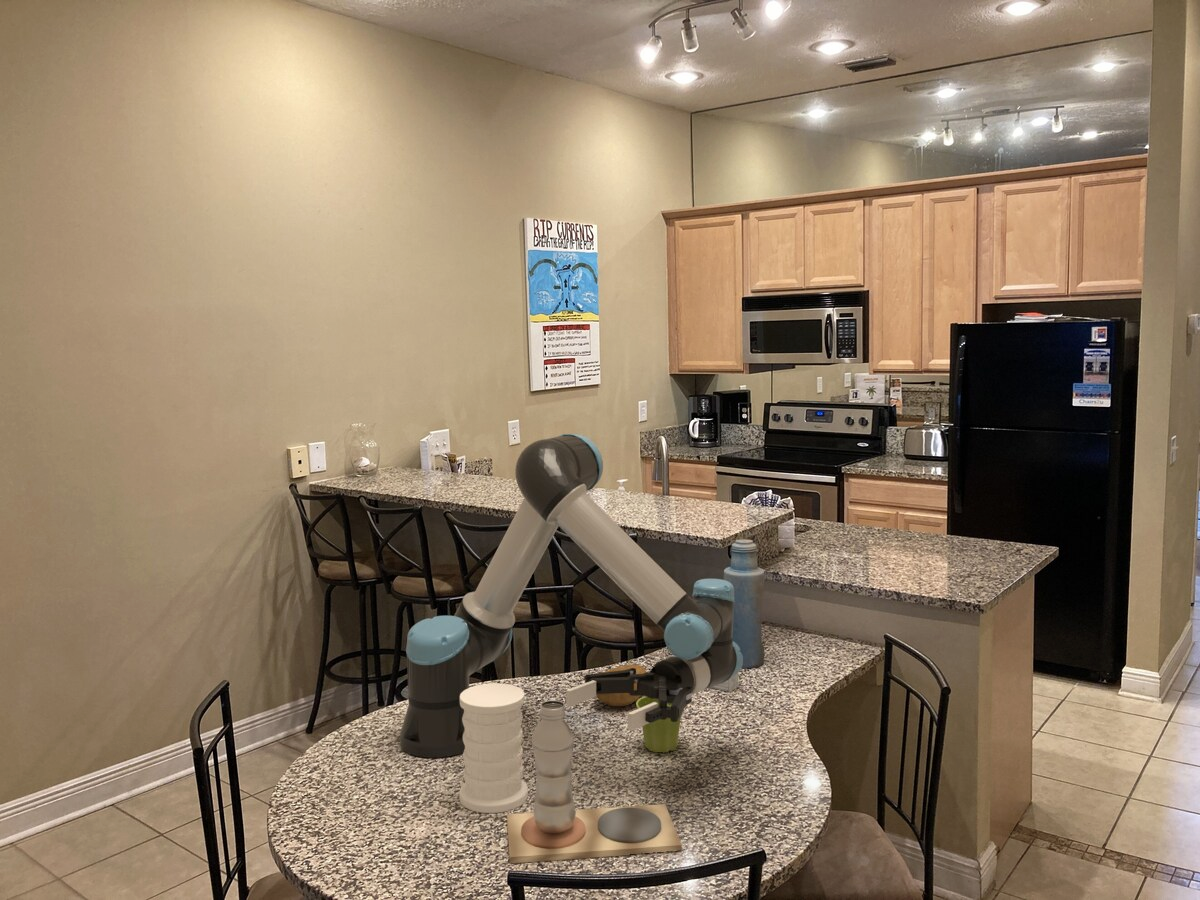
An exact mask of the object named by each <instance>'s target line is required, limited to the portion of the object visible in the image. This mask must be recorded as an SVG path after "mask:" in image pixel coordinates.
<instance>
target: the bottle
mask: <svg viewBox="0 0 1200 900" xmlns="http://www.w3.org/2000/svg"><path fill="white" fill-rule="evenodd" d="M757 550H758V548H757V544H756V543H754V541H753V540H752V539H736V540H735V541H734V543H732V544H731V558H730V566H728V567H726V568H725V569H724V570H723V580H725V581H728V582H730V583H731V584H732V585H733V587H734V600H735V603H734V616H733V641H734V642H735V643H736V644H737V645H738V646H739V648H740V651H741V654H742V656H743V665H742V668H741V669H753V668H759V667H760V666H762V665H763V664H764V661H765V647H764V645H763V640H762V639H763V638H762V634H763V633H762V631H763V630H762V619H763V618H762V613H763V612H762V611H763V610H762V605H763V604H762V600H763V594H764V590H765V570H764V569H763V568H761V567H759V566H758V558H757Z"/></svg>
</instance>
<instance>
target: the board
mask: <svg viewBox="0 0 1200 900" xmlns="http://www.w3.org/2000/svg"><path fill="white" fill-rule="evenodd" d="M575 810H576V815H575V821H574V824H573V825H572V827H571V828H570V829H569V830H568V831H565V832H562V833H555V834H554V833H546V832H543V831H542V830H540V829H539V828H538V826H537V825H536V824H535V820H534V815H533V812H524V813H523V812H522V813H510V814H509V813H507V814H506V822H507V823H506V824H507V836H508V837H507V840H508V854H509V855H508V856H509V864H520V863H521V864H522V863H535V862H550V861H551V862H552V861H563V860H565V861H566V860H577V859H580V860H581V859H591V858H592V859H593V858H594V859H595V858H607V857H619V856H631V855H630V854H636V855H642V854H641V853H650V854H654V853H653V852H656V853H655V854H658V853H657V852H664V853H667V852H666V851H674V850H676V851H677V850H682V851H683V844H682V841H681V840H680V837H679V835H678V832H677V829H676V828H675V825H674V823H673V820H672V817H671V814H670V812H669V811H668V808H667V806H666V803H662V804H661V803H660V804H659V803H658V804H647V805H633V806H632V805H629V806H615V807H600V808H585V809H575Z"/></svg>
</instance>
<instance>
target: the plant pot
mask: <svg viewBox="0 0 1200 900" xmlns="http://www.w3.org/2000/svg"><path fill="white" fill-rule="evenodd" d="M653 702H656V703H658V699H655V698H653V699H651V698H649V697H646V696H642V697H639V698H638V699H637V700H636V701H635V704H636V705H635V706H636V708H637V709H639V708H641V707H644V706H646V705H648V704H651V703H653ZM671 705H672V703H667V706H669V707H671ZM658 707H659V705H658ZM686 707H687V705H686V706H685V708H684V710H685V709H686ZM683 714H684V711H683V712H682V714H681V716H680V718H679V720H678V721H677V722H672V721H671V718H667V719H665V720H661V719H659V720H657V721H655V722H652V723H648V724H646V725H644V726H641V728H642V735H643V743H644V747H645V749H648V750H649V751H650V752H652V751H653V752H652V753H657V752H663V753H662V754H665V753H664V752H666V753H668V752H669V751H674V750H676V749H677V747H678V741H679V733H680V726H681V720H682V716H683Z"/></svg>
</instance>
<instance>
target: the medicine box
mask: <svg viewBox="0 0 1200 900" xmlns="http://www.w3.org/2000/svg"><path fill="white" fill-rule="evenodd" d="M737 687H739V673H738V674H737V675H735V676H734V677H732V678H730V679H729V680H727V681H726V682H723V683H720V684H717V685H715V686H712V687H710V688H709V689H712V690H713V689H714V690H719V691H723V692H729V693H731V692H733V690H736V688H737Z"/></svg>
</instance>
